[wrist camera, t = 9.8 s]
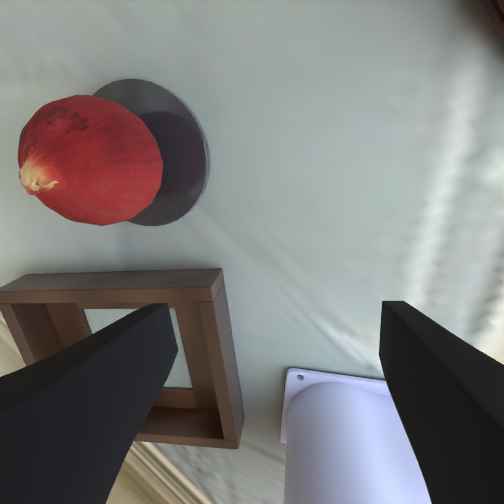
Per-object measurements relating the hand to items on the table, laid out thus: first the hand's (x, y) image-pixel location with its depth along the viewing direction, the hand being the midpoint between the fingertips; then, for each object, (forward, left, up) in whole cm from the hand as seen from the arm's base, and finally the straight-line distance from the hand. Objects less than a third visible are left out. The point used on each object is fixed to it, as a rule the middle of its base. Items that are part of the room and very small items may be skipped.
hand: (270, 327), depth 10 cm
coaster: (+9, -5, -9) cm, 14 cm away
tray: (+11, +10, -9) cm, 18 cm away
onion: (+9, -5, -9) cm, 14 cm away
